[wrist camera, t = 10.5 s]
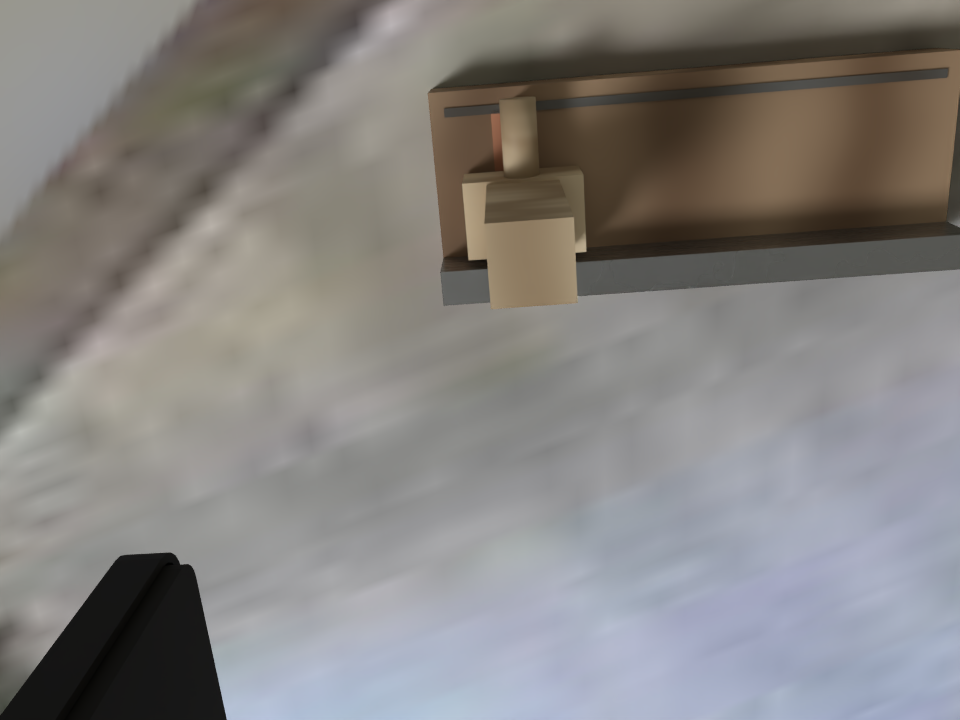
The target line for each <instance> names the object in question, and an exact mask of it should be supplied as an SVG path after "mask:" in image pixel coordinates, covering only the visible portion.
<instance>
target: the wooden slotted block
mask: <svg viewBox="0 0 960 720" xmlns="http://www.w3.org/2000/svg"><path fill="white" fill-rule="evenodd" d="M959 94H960V50H959V49H944V48H930V49H918V50H906V51H893V52H881V53H869V54H856V55H844V56H832V57H819V58H807V59H795V60H782V61H770V62H757V63H745V64H733V65H720V66H708V67H696V68H683V69H671V70H659V71H646V72H634V73H622V74H609V75H597V76H585V77H572V78H560V79H547V80H535V81H523V82H510V83H498V84H486V85H473V86H461V87H449V88H436V89H431V90H430V91H429V92H428V100H429V110H430V121H431V131H432V142H433V152H434V163H435V173H436V184H437V194H438V205H439V215H440V226H441V236H442V247H443V257H444V258H443V263H442V267H441V272H440V273H441V284H442V294H443V304H444V306H445V305H459V304H474V303H488V302H490V291H489V278H488V265H487V259H481V260H469V259H468V248H467V236H466V224H465V213H464V201H463V189H462V182H463V177H464V174H471V173H484V172H497V171H504V167H503V152H502V138H501V123H500V108H499V100H500V99H505V98H512V97H536V115H537V134H538V152H539V168H550V167H563V166H576V165H578V166H579V167H580V169H581V171H582V173H583V175H584V202H585V228H586V252H577V253H576V277H577V296H587V295H601V294H615V293H630V292H644V291H658V290H672V289H686V288H701V287H715V286H729V285H743V284H757V283H771V282H786V281H800V280H814V279H828V278H842V277H857V276H871V275H885V274H899V273H913V272H927V271H942V270H956V269H960V227H958V226H955V225H953V224H951V223H949V222H947V221H946V218H947V209H948V199H949V190H950V180H951V170H952V161H953V151H954V142H955V132H956V123H957V113H958V103H959Z"/></svg>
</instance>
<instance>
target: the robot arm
mask: <svg viewBox="0 0 960 720" xmlns="http://www.w3.org/2000/svg"><path fill="white" fill-rule="evenodd" d="M0 720H227V719H226V714H225V710H224V705H223V700H222V696H221V691H220V686H219V682H218V677H217V672H216V668H215V663H214V658H213V654H212V649H211V644H210V640H209V635H208V630H207V626H206V621H205V617H204V612H203V607H202V603H201V598H200V593H199V589H198V584H197V579H196V575H195V572H194V570H193V568H192V566H190V565H188V564H184V565H180V563H179V560H178V559H177V557H176V556H175V555H174V554H172V553H153V554H134V555H123V556H120V557H119V558H118V559H117V560H116V561H115V562H114V563H113V565H112V566H111V567H110V569H109V570H108V571H107V573H106V574H105V575H104V577H103V578H102V580H101V581H100V582H99V584H98V585H97V586H96V588H95V589H94V590H93V592H92V593H91V594H90V596H89V597H88V598H87V600H86V601H85V602H84V604H83V605H82V606H81V608H80V609H79V610H78V612H77V613H76V615H75V616H74V617H73V619H72V620H71V621H70V623H69V624H68V625H67V627H66V628H65V629H64V631H63V632H62V633H61V635H60V636H59V637H58V639H57V640H56V641H55V643H54V644H53V645H52V647H51V648H50V649H49V651H48V652H47V654H46V655H45V656H44V658H43V659H42V660H41V662H40V663H39V664H38V666H37V667H36V668H35V670H34V671H33V672H32V674H31V675H30V676H29V678H28V679H27V680H26V682H25V683H24V684H23V686H22V687H21V689H20V690H19V691H18V693H17V694H16V695H15V697H14V698H13V699H12V701H11V702H10V703H9V705H8V706H7V707H6V709H5V710H4V711H3V713H2V714H1V715H0Z"/></svg>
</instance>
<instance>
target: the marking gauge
mask: <svg viewBox="0 0 960 720" xmlns="http://www.w3.org/2000/svg"><path fill="white" fill-rule="evenodd" d="M499 108H500V123H501V138H502V152H503V167H504V171H497V172H484V173H471V174H464V177H463V182H462V189H463V201H464V213H465V224H466V236H467V248H468V259H469V260H481V259H487V265H488V278H489V291H490V304H491V309H500V308H514V307H528V306H543V305H557V304H571V303H578V301H577V277H576V253H577V252H586V228H585V202H584V175H583V173H582V171H581V169H580V167H579V166H578V165H576V166H563V167H550V168H539V152H538V134H537V115H536V97H512V98H505V99H500V100H499Z"/></svg>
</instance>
